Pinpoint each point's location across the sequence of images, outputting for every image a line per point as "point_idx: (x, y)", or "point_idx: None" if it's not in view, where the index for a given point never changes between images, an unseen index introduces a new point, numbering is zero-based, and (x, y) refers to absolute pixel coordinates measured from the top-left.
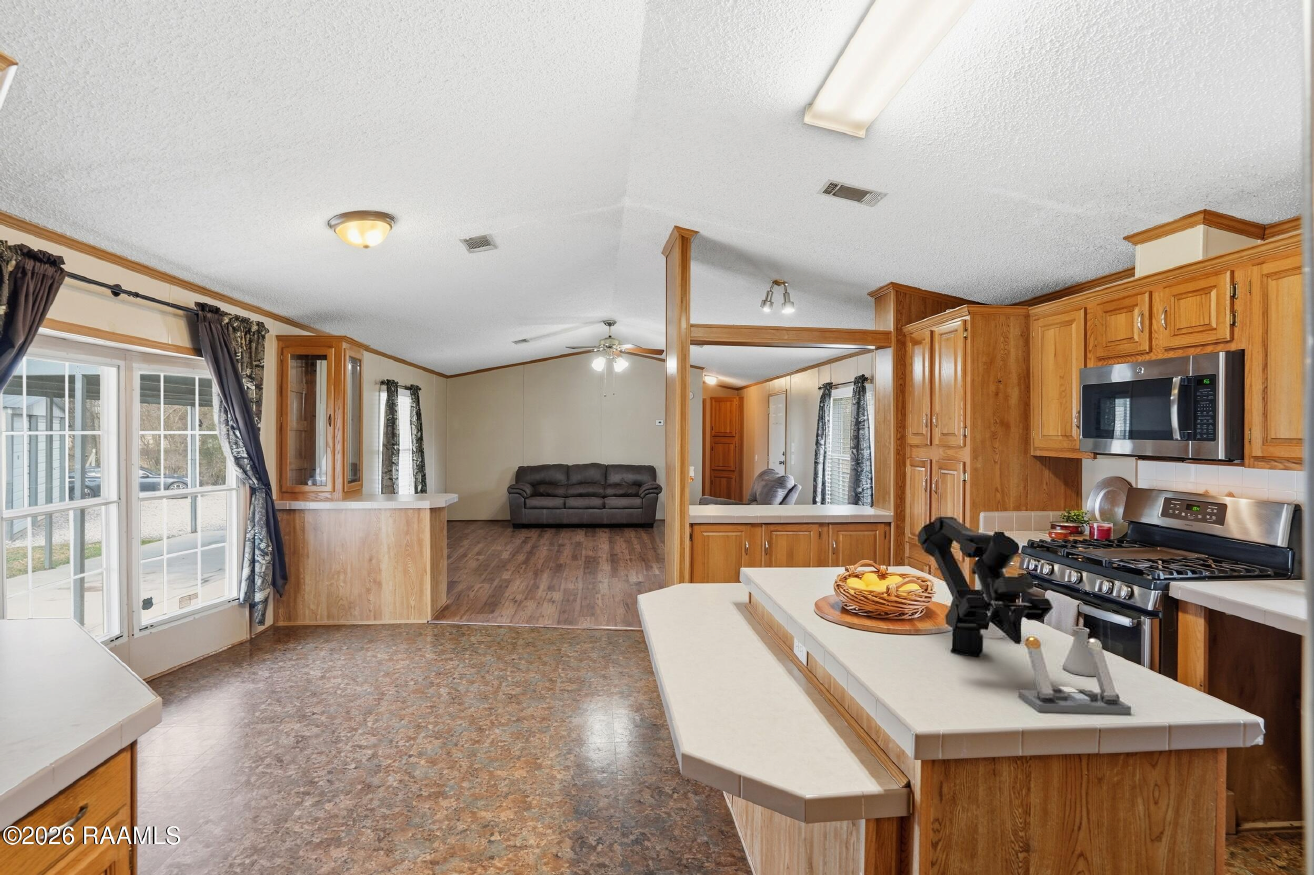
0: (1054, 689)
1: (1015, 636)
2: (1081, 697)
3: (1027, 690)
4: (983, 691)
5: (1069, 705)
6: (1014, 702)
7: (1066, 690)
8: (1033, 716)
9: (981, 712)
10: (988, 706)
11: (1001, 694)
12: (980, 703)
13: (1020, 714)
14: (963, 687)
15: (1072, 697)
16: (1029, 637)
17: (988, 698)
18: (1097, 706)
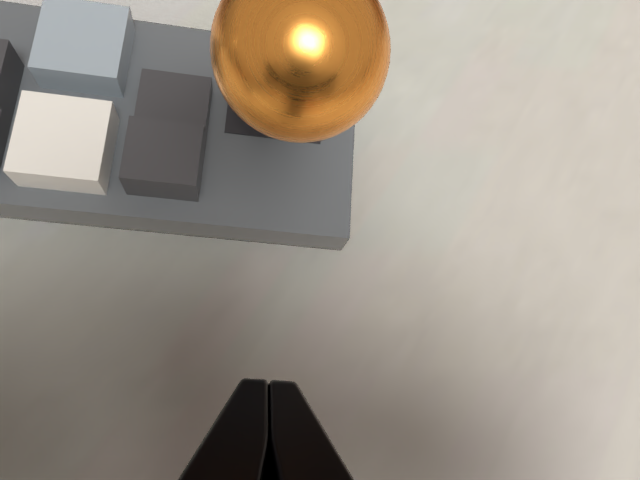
0: (177, 121)
1: (311, 422)
2: (87, 15)
3: (294, 231)
4: (501, 344)
5: (187, 28)
6: (404, 188)
7: (95, 114)
8: (405, 36)
9: (624, 94)
10: (564, 151)
11: (416, 297)
12: (588, 186)
13: (455, 60)
14: (593, 408)
15: (123, 52)
16: (354, 19)
17: (519, 245)
18: (21, 7)
